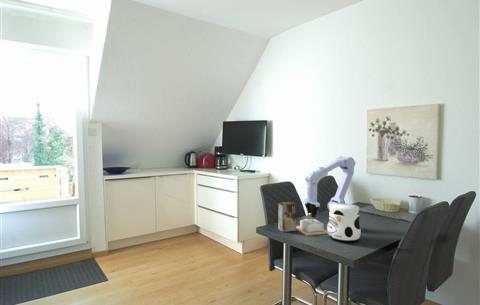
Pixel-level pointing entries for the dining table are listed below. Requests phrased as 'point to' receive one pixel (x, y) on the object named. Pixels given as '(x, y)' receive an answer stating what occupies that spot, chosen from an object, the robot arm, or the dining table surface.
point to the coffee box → (287, 216)
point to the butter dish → (311, 228)
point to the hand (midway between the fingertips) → (311, 216)
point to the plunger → (311, 220)
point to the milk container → (344, 222)
